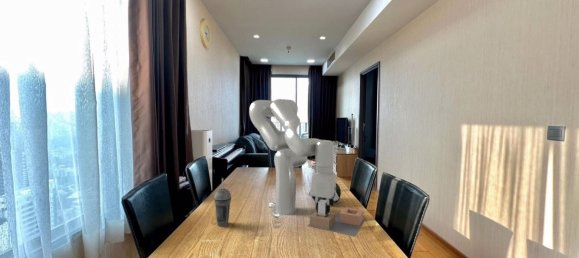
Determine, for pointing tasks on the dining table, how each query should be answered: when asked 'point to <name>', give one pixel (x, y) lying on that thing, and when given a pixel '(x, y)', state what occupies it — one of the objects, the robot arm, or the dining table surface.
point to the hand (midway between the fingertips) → (322, 212)
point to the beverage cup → (222, 206)
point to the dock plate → (339, 221)
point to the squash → (337, 194)
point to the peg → (322, 208)
